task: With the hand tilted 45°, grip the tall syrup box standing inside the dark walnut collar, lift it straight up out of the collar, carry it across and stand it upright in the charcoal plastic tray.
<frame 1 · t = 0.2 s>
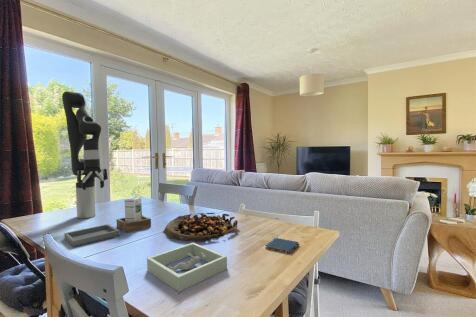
hand: (93, 188, 138), 17 cm above the table, fingers open, 8 cm apart
woven mat: (282, 248, 100), on the table
soldier figure: (186, 270, 83), on the table
charcoal tray: (92, 237, 113), on the table
sage display box: (187, 269, 82), on the table
syrup box: (133, 227, 128), on the table
walnut collar: (133, 226, 128), on the table
food dish: (200, 230, 123), on the table
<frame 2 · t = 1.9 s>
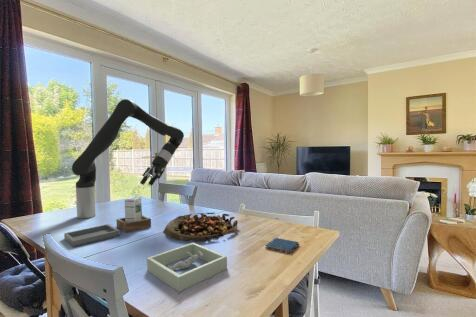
hand: (145, 184, 134), 20 cm above the table, fingers open, 8 cm apart
soldier figure: (185, 268, 83), on the table
everything else where it was.
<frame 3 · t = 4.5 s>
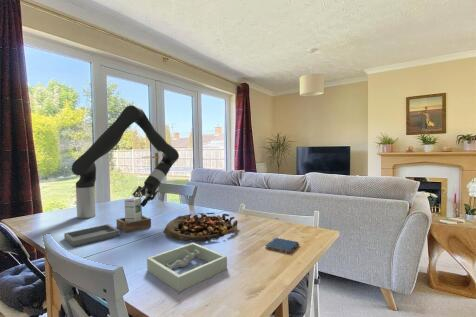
hand: (136, 204, 129), 11 cm above the table, fingers open, 8 cm apart
soldier figure: (182, 267, 85), on the table
everything else where it was.
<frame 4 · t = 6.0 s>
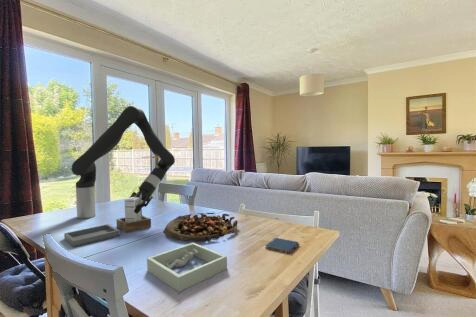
hand: (130, 211, 126), 8 cm above the table, fingers closed on syrup box, 7 cm apart
syrup box: (133, 227, 128), on the table, touching gripper
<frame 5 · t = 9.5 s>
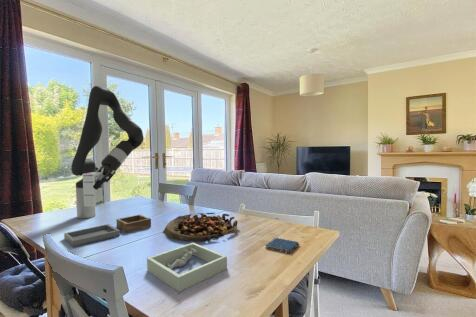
hand: (90, 187, 112), 22 cm above the table, fingers closed on syrup box, 7 cm apart
soldier figure: (181, 266, 85), on the table, touching sage display box
syrup box: (94, 205, 114), point 14 cm above the table, touching gripper
everything else where it was.
when the fingers open (10 cm above the table, at t = 13.1 s): syrup box drops 1 cm, resting on charcoal tray.
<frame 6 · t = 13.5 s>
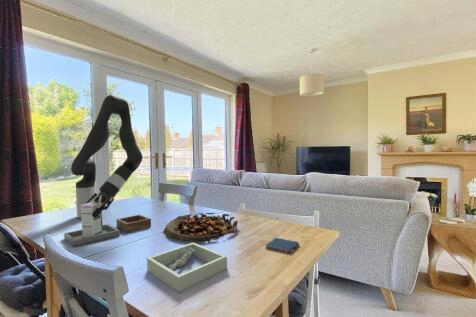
hand: (88, 215, 112), 10 cm above the table, fingers open, 8 cm apart
soldier figure: (181, 266, 85), on the table
syrup box: (92, 236, 114), resting on charcoal tray
everything else where it was.
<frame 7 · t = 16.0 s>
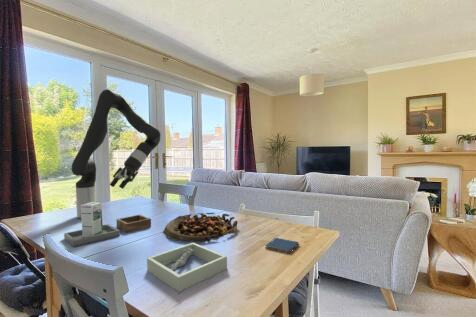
hand: (116, 186, 123), 21 cm above the table, fingers open, 8 cm apart
nothing on the table moved.
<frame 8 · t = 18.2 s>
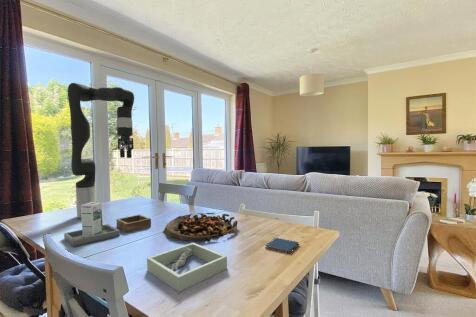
hand: (125, 157, 136), 34 cm above the table, fingers open, 8 cm apart
nothing on the table moved.
at the end: syrup box inside the target area on the charcoal tray (0.3 cm from its centre), point 0.4 cm above the charcoal tray's base; syrup box tilted 0°; the gripper is holding nothing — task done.
